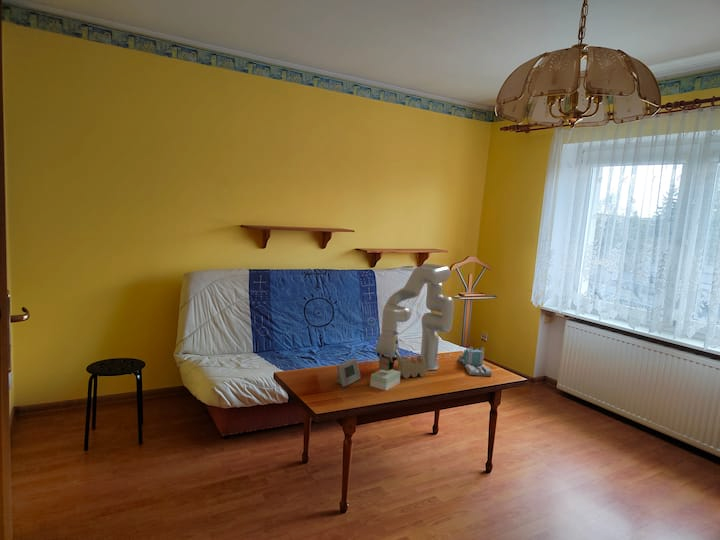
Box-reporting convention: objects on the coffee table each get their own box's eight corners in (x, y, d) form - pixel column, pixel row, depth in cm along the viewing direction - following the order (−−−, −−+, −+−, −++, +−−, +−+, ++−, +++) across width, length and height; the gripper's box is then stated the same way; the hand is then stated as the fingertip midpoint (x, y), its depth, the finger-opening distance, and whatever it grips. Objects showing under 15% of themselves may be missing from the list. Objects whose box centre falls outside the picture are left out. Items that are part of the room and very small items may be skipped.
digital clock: (342, 388, 226) (344, 367, 225) (330, 383, 233) (331, 362, 231) (365, 381, 238) (366, 361, 237) (352, 376, 244) (353, 356, 243)
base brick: (384, 378, 243) (385, 367, 243) (399, 382, 239) (400, 371, 238) (370, 385, 232) (371, 374, 231) (385, 390, 227) (386, 378, 226)
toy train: (427, 376, 251) (429, 358, 250) (400, 379, 245) (401, 360, 243) (422, 373, 256) (424, 355, 255) (395, 375, 250) (396, 357, 248)
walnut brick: (384, 366, 238) (385, 355, 237) (392, 368, 235) (393, 357, 234) (379, 368, 233) (380, 357, 233) (387, 371, 231) (388, 359, 230)
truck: (477, 361, 286) (479, 337, 284) (491, 377, 257) (494, 351, 255) (457, 360, 285) (460, 336, 283) (470, 376, 257) (472, 350, 255)
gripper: (407, 334, 230) (404, 370, 232) (378, 328, 240) (375, 362, 242) (400, 337, 224) (397, 373, 226) (370, 330, 234) (368, 365, 236)
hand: (386, 367), depth 234 cm, fingers closed on walnut brick, 5 cm apart
